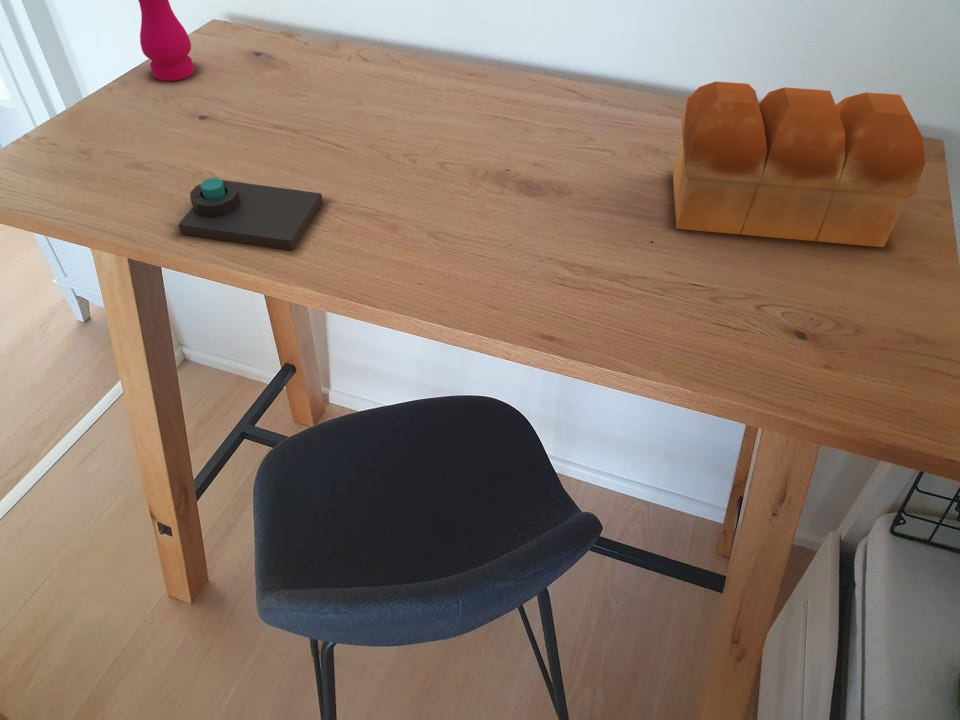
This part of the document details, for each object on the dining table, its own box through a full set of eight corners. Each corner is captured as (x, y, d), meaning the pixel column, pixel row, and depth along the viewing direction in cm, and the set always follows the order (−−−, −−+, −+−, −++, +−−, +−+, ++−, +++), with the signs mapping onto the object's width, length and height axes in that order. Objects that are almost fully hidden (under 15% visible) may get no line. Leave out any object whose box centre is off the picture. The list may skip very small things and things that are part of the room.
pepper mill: (174, 58, 124) (136, -79, 110) (207, 69, 121) (172, -70, 107) (139, 75, 119) (95, -65, 105) (173, 87, 117) (132, -56, 103)
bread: (673, 230, 92) (699, 115, 82) (669, 174, 101) (693, 65, 90) (888, 249, 90) (943, 134, 79) (865, 190, 99) (913, 80, 88)
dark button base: (179, 233, 91) (172, 212, 89) (217, 188, 98) (211, 167, 95) (292, 250, 89) (288, 229, 86) (323, 202, 96) (319, 181, 93)
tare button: (199, 199, 91) (196, 188, 90) (209, 187, 93) (206, 176, 92) (219, 202, 91) (216, 191, 90) (229, 190, 93) (226, 179, 91)
